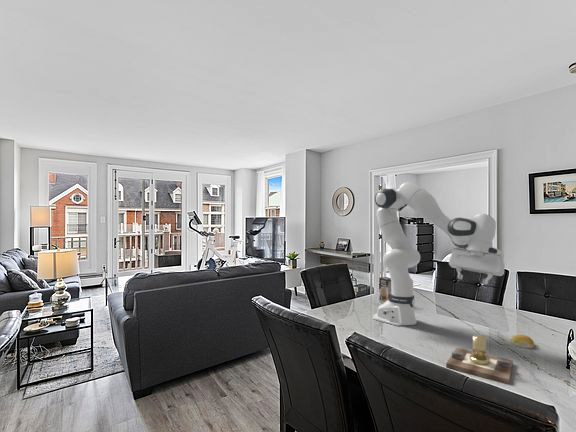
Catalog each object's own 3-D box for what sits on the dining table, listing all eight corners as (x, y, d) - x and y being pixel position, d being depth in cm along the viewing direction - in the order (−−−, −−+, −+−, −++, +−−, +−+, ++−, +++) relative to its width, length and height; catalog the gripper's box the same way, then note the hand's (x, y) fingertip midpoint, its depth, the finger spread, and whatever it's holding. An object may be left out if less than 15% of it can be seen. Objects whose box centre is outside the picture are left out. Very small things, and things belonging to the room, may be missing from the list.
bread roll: (533, 343, 138) (533, 334, 138) (535, 350, 131) (534, 341, 131) (510, 339, 143) (510, 330, 143) (510, 346, 135) (510, 336, 135)
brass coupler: (468, 362, 116) (468, 337, 116) (470, 355, 121) (470, 332, 121) (489, 366, 113) (488, 341, 112) (490, 359, 118) (490, 335, 118)
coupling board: (446, 367, 116) (446, 358, 116) (456, 351, 130) (456, 343, 130) (508, 384, 104) (508, 374, 104) (512, 364, 118) (512, 355, 118)
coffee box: (378, 301, 207) (378, 277, 207) (387, 301, 209) (386, 276, 209) (387, 305, 198) (387, 279, 198) (396, 304, 201) (396, 279, 201)
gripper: (450, 244, 140) (443, 273, 136) (505, 251, 125) (498, 284, 121) (455, 249, 144) (448, 278, 140) (508, 256, 129) (501, 289, 125)
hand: (471, 281), depth 131 cm, fingers open, 8 cm apart
